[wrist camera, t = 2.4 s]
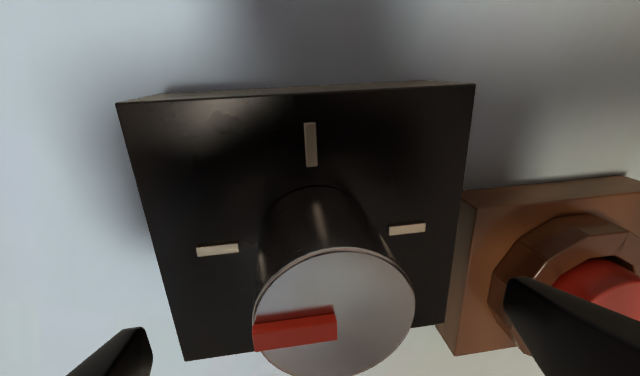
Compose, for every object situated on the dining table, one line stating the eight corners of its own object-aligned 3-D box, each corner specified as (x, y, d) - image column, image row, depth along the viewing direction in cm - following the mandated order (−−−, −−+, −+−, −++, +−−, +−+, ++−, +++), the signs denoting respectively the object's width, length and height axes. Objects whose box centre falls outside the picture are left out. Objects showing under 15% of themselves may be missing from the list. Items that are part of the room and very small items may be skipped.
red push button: (634, 252, 14) (680, 275, 13) (606, 326, 16) (644, 355, 14) (547, 263, 14) (584, 289, 12) (528, 338, 15) (558, 370, 14)
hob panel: (422, 79, 14) (480, 83, 10) (408, 269, 17) (447, 326, 13) (161, 93, 12) (111, 103, 9) (204, 295, 16) (183, 365, 12)
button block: (621, 174, 17) (718, 204, 13) (579, 305, 20) (647, 357, 17) (450, 191, 16) (504, 227, 12) (434, 326, 19) (473, 388, 15)
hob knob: (370, 180, 11) (429, 246, 7) (369, 277, 12) (416, 379, 8) (252, 191, 10) (238, 268, 6) (265, 290, 12) (260, 405, 8)
